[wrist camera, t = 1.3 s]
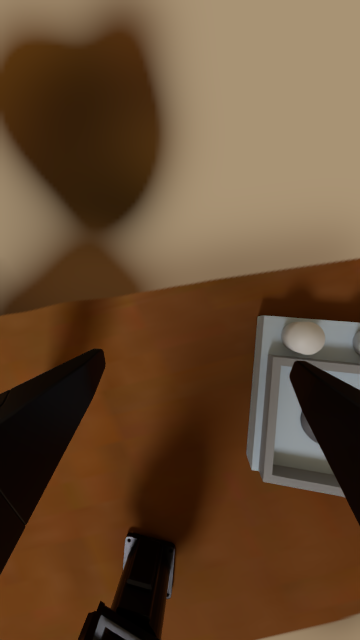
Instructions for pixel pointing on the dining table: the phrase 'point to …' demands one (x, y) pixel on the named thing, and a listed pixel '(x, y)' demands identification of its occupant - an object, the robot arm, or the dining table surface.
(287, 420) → the square tray with knobs
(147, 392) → the dining table surface
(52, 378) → the robot arm
